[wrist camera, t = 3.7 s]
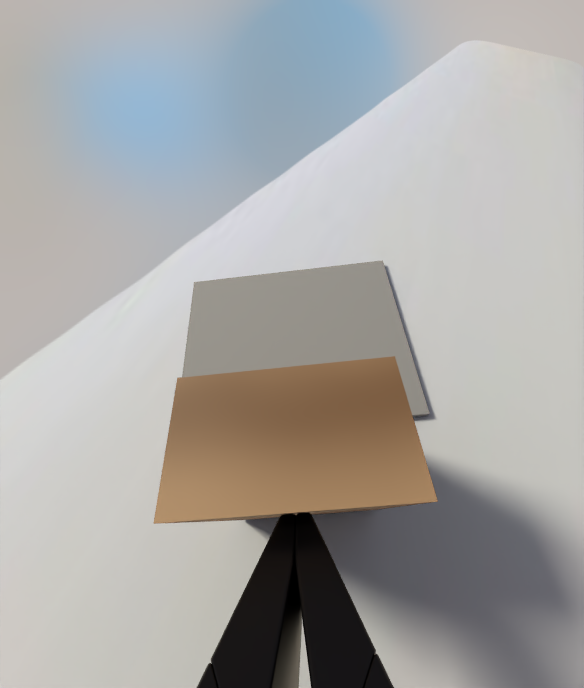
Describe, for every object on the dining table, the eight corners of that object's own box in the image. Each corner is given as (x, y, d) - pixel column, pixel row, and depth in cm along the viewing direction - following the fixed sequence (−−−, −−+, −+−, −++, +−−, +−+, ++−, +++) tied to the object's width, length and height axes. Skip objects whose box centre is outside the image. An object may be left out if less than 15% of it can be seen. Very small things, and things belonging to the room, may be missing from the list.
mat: (427, 415, 17) (429, 413, 16) (177, 437, 17) (174, 436, 17) (381, 264, 22) (382, 260, 22) (196, 285, 23) (194, 282, 23)
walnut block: (376, 509, 14) (438, 501, 7) (241, 520, 15) (153, 523, 7) (361, 430, 17) (394, 356, 9) (243, 441, 17) (177, 378, 9)
